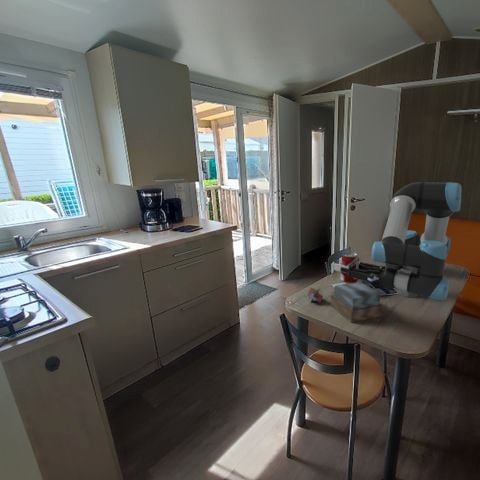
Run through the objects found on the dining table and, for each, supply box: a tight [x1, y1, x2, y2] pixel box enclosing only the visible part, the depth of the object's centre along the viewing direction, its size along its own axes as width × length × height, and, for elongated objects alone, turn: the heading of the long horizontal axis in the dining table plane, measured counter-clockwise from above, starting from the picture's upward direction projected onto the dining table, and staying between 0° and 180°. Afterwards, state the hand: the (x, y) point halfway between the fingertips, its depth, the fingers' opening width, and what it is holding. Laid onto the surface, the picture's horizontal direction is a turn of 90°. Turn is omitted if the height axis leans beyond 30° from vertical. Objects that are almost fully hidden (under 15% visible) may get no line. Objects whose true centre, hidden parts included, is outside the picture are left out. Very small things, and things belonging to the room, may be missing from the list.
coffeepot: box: [396, 265, 419, 298], centre depth 136 cm, size 15×9×18 cm, turn 107°
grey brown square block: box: [329, 281, 384, 323], centre depth 124 cm, size 15×15×10 cm
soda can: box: [340, 251, 360, 284], centre depth 119 cm, size 7×7×12 cm
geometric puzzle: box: [307, 287, 324, 304], centre depth 134 cm, size 7×7×8 cm
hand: (337, 264), depth 121 cm, fingers closed on soda can, 5 cm apart
